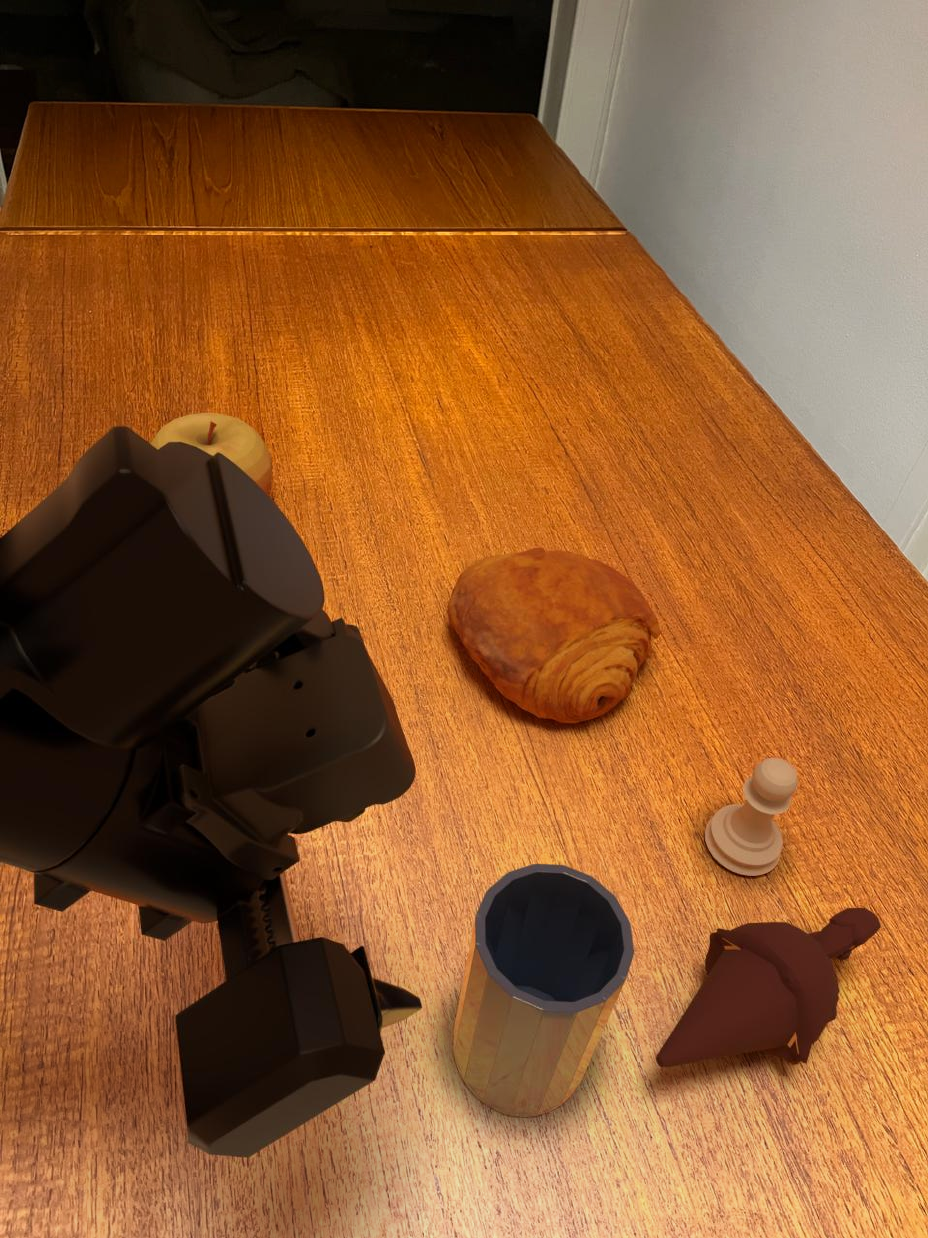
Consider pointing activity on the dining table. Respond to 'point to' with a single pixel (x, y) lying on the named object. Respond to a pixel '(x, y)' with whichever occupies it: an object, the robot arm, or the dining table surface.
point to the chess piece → (753, 821)
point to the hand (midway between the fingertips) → (382, 904)
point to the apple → (222, 442)
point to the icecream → (767, 990)
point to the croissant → (554, 630)
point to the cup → (539, 987)
